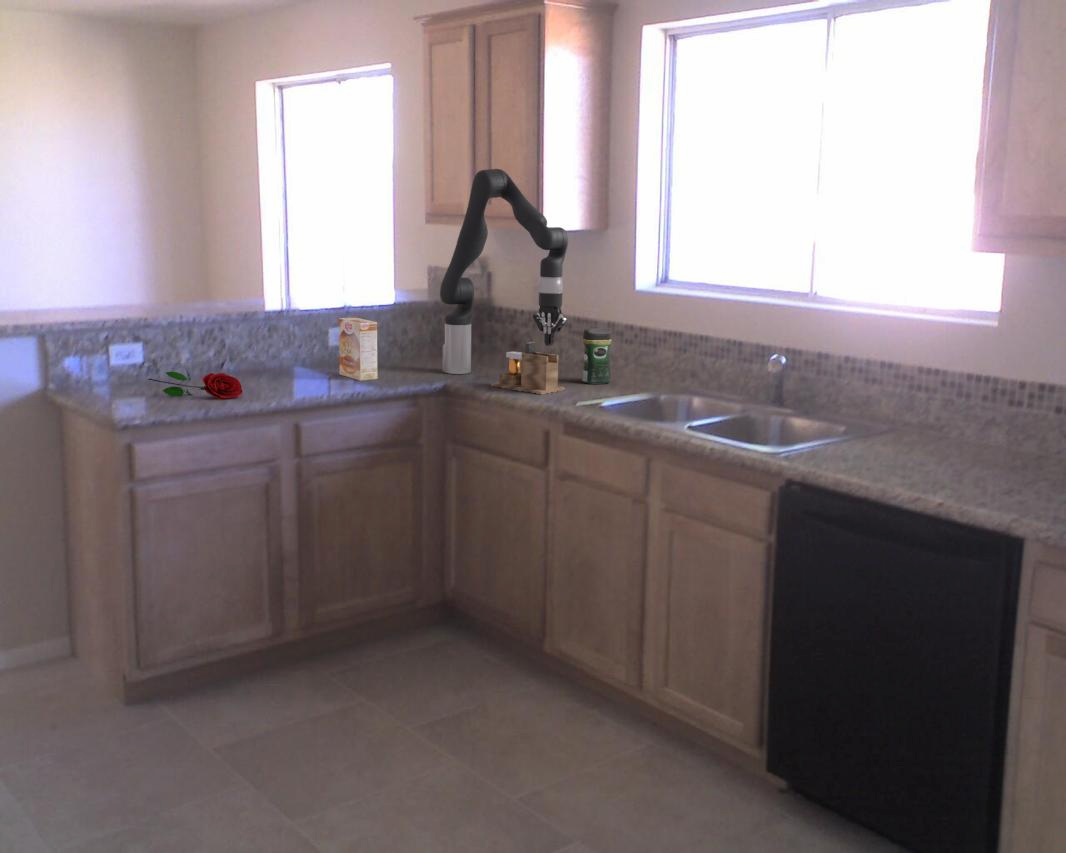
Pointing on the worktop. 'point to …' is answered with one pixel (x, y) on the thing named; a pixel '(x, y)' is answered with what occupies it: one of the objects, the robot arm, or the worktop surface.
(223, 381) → the flower
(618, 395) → the worktop surface
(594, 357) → the coffee jar
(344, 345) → the coffeecake box
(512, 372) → the peg
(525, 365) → the mount
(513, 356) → the grey angular block
